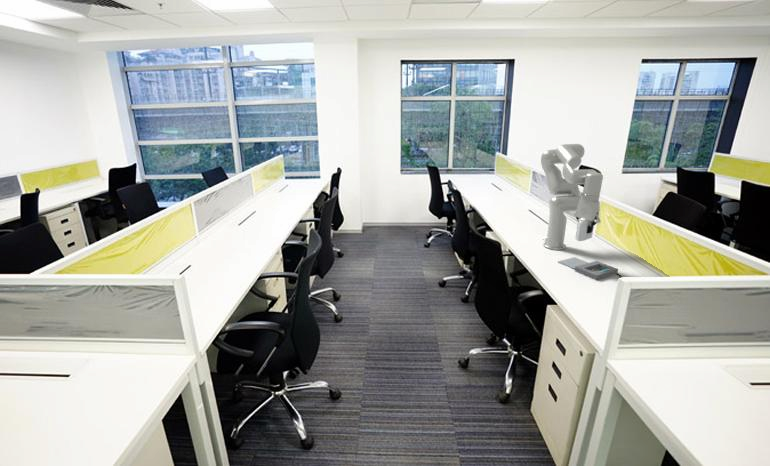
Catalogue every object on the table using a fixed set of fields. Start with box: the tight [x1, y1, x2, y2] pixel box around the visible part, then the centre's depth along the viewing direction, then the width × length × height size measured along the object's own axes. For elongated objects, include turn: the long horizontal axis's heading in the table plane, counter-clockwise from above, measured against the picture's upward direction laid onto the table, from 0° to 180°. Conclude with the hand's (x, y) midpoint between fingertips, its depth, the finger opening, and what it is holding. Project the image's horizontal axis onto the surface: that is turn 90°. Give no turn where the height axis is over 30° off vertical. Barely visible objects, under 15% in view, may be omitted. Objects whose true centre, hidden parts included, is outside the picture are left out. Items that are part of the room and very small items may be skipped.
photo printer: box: [575, 218, 595, 242], centre depth 188 cm, size 10×4×12 cm, turn 122°
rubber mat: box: [557, 256, 589, 270], centre depth 197 cm, size 10×13×1 cm
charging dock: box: [574, 260, 619, 281], centre depth 186 cm, size 12×16×3 cm
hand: (584, 230), depth 189 cm, fingers closed on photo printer, 4 cm apart
